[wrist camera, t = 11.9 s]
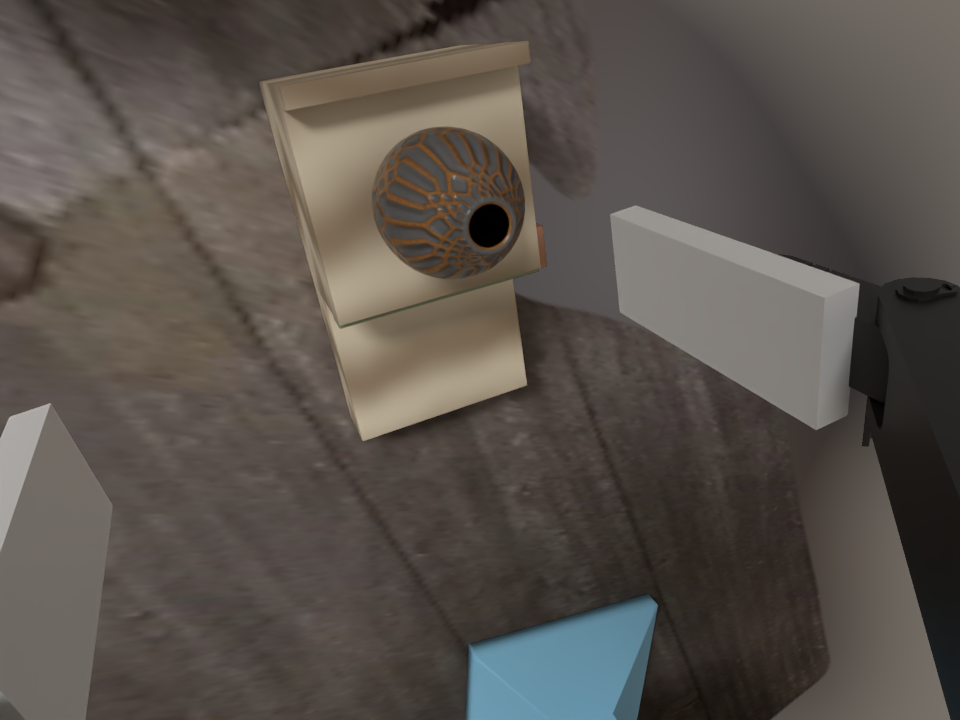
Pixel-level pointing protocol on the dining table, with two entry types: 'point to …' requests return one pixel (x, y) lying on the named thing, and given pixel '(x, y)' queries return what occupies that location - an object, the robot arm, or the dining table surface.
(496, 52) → the stepped riser
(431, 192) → the vase
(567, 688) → the vase
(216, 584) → the dining table surface
